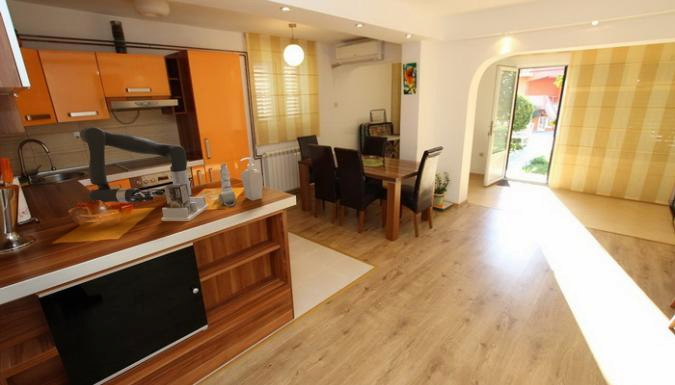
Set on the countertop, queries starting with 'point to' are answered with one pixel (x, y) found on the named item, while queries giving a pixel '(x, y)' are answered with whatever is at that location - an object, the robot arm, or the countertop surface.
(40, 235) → the countertop surface
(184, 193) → the coffee box
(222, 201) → the ceramic mug
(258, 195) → the soap bottle
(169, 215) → the slot rack
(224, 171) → the plastic bottle
